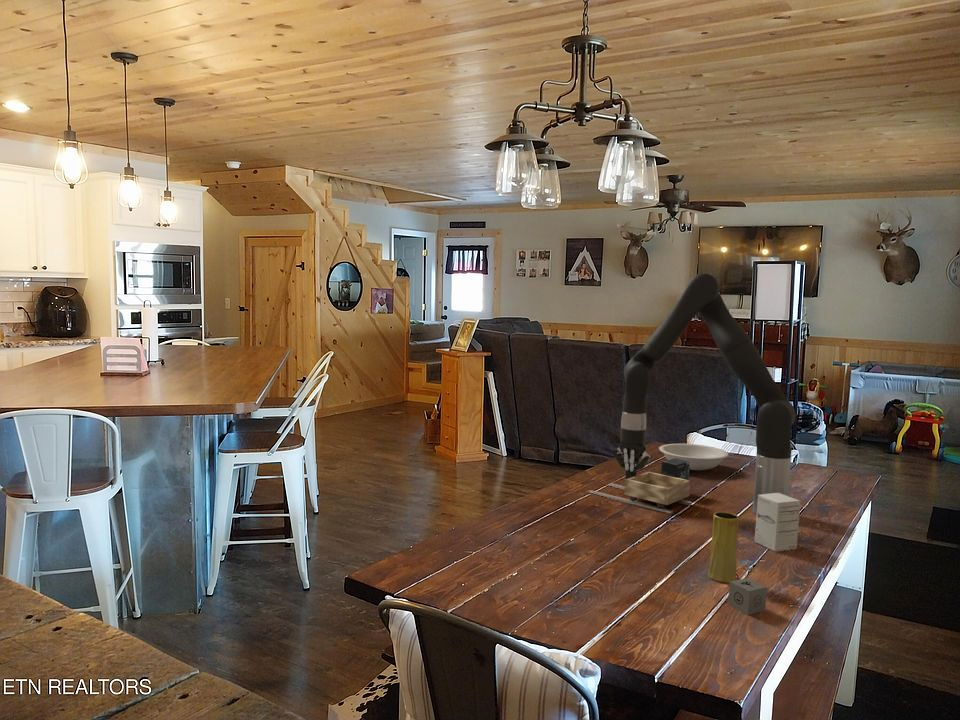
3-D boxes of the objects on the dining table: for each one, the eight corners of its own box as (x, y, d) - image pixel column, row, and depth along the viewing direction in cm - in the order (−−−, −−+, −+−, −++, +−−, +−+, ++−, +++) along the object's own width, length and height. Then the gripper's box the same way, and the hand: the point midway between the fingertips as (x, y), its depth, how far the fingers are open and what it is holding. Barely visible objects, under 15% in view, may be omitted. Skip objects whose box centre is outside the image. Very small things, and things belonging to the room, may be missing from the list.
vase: (713, 570, 165) (717, 509, 164) (740, 577, 162) (744, 515, 160) (703, 577, 161) (707, 515, 159) (730, 585, 157) (734, 521, 155)
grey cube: (745, 601, 149) (747, 577, 149) (765, 610, 145) (766, 586, 145) (728, 605, 147) (729, 581, 147) (747, 615, 143) (749, 591, 142)
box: (675, 498, 222) (677, 464, 221) (659, 494, 226) (661, 461, 225) (688, 493, 228) (690, 461, 227) (672, 489, 232) (674, 457, 231)
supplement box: (753, 542, 185) (756, 494, 184) (776, 539, 188) (779, 491, 186) (774, 552, 178) (778, 502, 177) (797, 549, 181) (801, 500, 179)
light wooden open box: (689, 500, 217) (690, 480, 217) (667, 510, 207) (668, 489, 206) (647, 490, 227) (648, 471, 226) (624, 499, 216) (625, 479, 215)
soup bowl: (734, 467, 265) (735, 449, 264) (717, 481, 245) (718, 461, 244) (669, 457, 278) (670, 440, 277) (649, 469, 257) (650, 451, 257)
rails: (691, 504, 217) (692, 501, 216) (670, 513, 206) (670, 511, 206) (611, 485, 235) (611, 483, 235) (587, 493, 225) (587, 491, 225)
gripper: (659, 428, 219) (655, 484, 221) (621, 422, 228) (618, 476, 230) (646, 431, 214) (643, 489, 215) (608, 425, 222) (605, 480, 224)
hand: (630, 482), depth 222 cm, fingers closed
